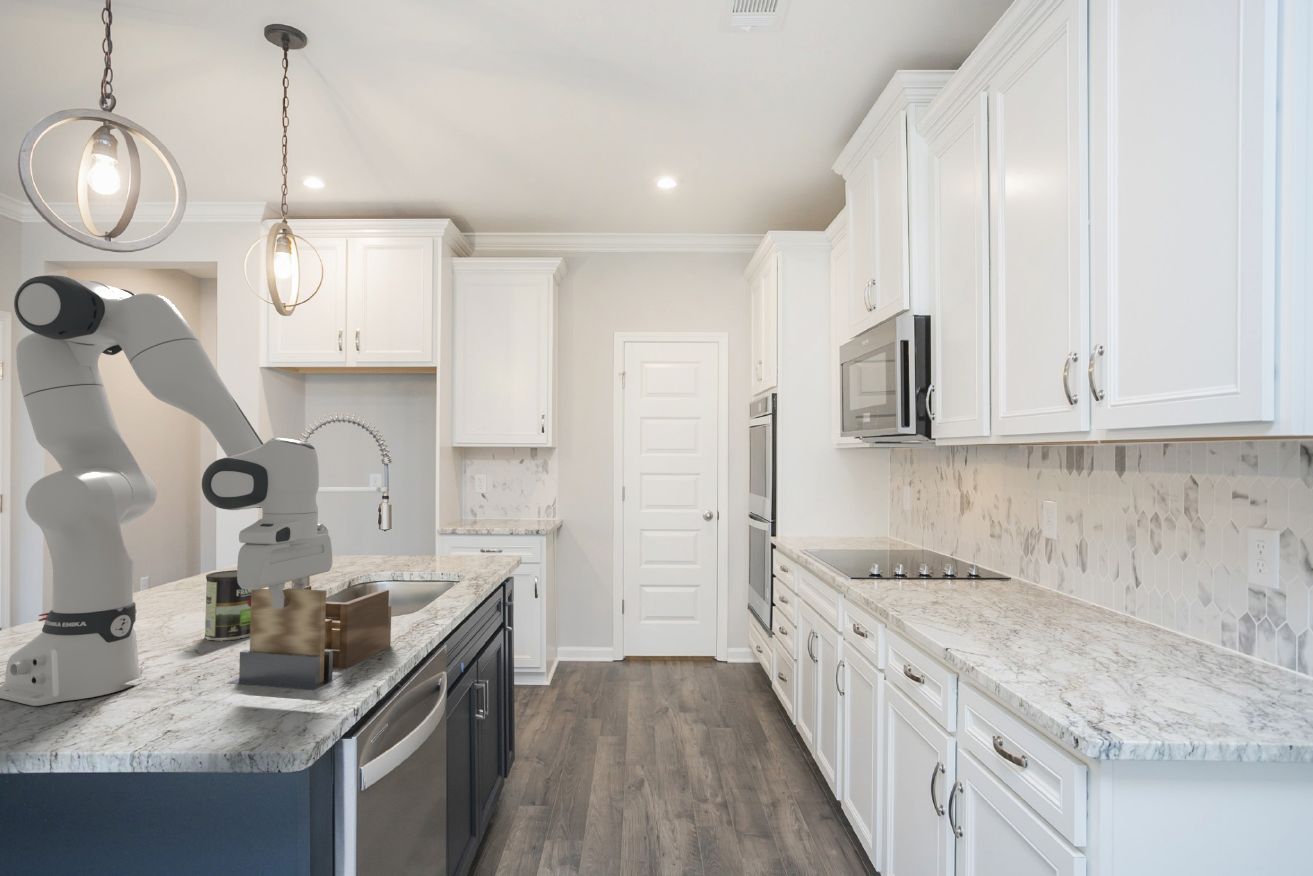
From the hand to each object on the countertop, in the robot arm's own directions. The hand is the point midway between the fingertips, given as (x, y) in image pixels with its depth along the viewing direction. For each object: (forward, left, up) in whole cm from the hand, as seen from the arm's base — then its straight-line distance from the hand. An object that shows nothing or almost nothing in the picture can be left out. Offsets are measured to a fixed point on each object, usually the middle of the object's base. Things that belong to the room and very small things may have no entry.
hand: (287, 605), depth 121 cm
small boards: (-3, +12, -13) cm, 18 cm away
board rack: (-3, +15, -15) cm, 21 cm away
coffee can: (-36, +28, -15) cm, 48 cm away
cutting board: (0, 0, -13) cm, 13 cm away
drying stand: (0, 0, -15) cm, 15 cm away
